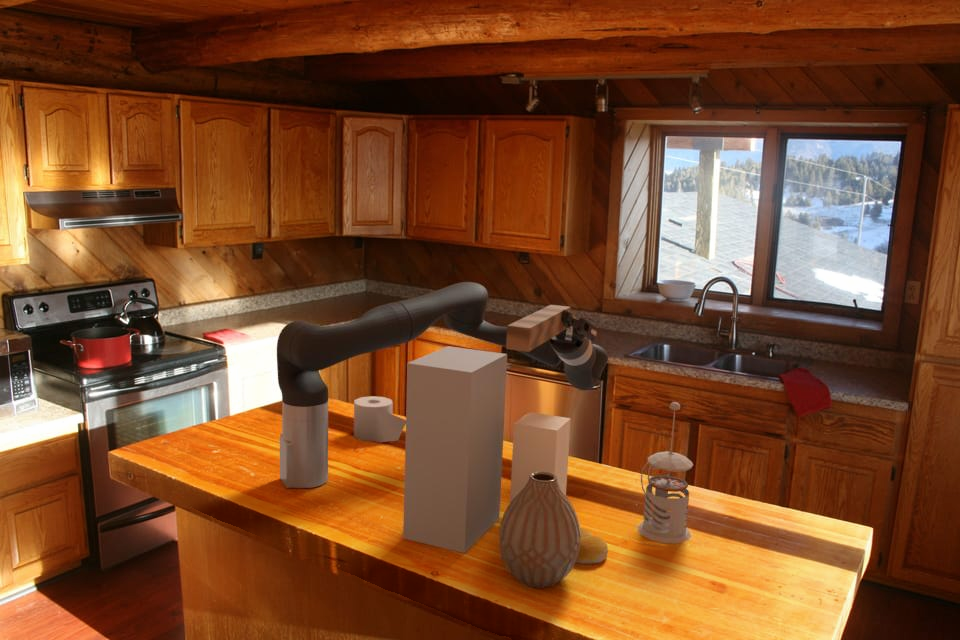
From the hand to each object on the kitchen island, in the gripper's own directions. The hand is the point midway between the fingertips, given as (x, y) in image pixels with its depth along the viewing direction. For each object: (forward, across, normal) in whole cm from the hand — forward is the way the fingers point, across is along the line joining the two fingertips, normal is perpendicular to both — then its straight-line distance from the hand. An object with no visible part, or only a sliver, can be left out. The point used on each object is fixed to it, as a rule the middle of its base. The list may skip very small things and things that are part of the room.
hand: (551, 313), depth 152 cm
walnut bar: (+4, 0, -6) cm, 7 cm away
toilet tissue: (-40, +50, -23) cm, 67 cm away
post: (-11, -2, -38) cm, 40 cm away
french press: (-21, -23, -33) cm, 46 cm away
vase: (+3, -8, -47) cm, 48 cm away
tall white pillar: (-6, +12, -42) cm, 44 cm away
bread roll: (-7, -12, -41) cm, 44 cm away
